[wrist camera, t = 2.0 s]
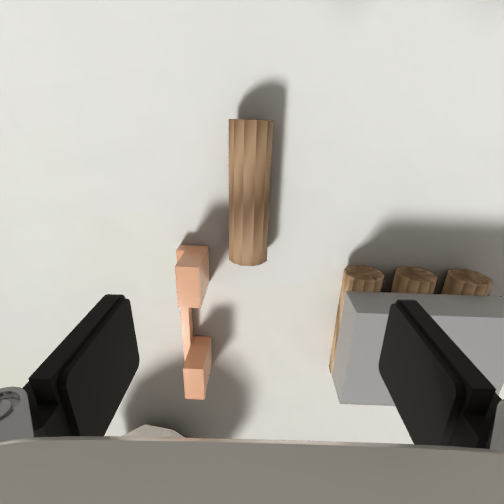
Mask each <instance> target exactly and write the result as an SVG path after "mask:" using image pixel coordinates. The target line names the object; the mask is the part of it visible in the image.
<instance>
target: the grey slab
mask: <svg viewBox="0 0 504 504" xmlns="http://www.w3.org/2000/svg"><path fill="white" fill-rule="evenodd" d="M398 299H399V300H416V301H417V302H418V303H419V304H420V305H421V306H422V307H423V308H424V309H425V311H426V312H427V313H428V314H429V315H430V316H431V317H432V318H433V319H434V321H435V322H436V323H437V324H438V325H439V326H440V327H441V328H442V329H443V330H444V332H445V333H446V334H447V335H448V336H449V337H450V338H451V339H452V340H453V342H454V343H455V344H456V345H457V346H458V347H459V348H460V349H461V350H462V352H463V353H464V354H465V355H466V356H467V357H468V358H469V359H470V360H471V361H472V363H473V364H474V365H475V366H476V367H477V368H478V369H479V370H480V371H481V373H482V374H483V375H484V376H485V377H486V378H487V379H488V380H489V381H490V383H491V384H492V385H493V386H494V387H495V388H496V391H495V392H496V394H497V395H499V392H500V390H501V388H502V386H503V383H504V298H502V297H501V296H476V295H447V294H417V293H388V292H358V291H346V292H345V298H344V304H343V310H342V316H341V322H340V328H339V334H338V340H337V347H336V353H335V359H334V365H333V371H332V378H333V381H334V385H335V388H336V392H337V395H338V399H339V402H340V404H358V405H384V406H395V404H394V402H393V400H392V398H391V396H390V393H389V391H388V389H387V387H386V385H385V383H384V381H383V379H382V377H381V375H380V373H379V367H378V364H379V359H380V354H381V349H382V344H383V339H384V334H385V329H386V325H387V320H388V315H389V310H390V306H391V304H393V303H395V302H396V301H397V300H398Z"/></svg>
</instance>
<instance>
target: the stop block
mask: <svg viewBox="0 0 504 504" xmlns="http://www.w3.org/2000/svg"><path fill="white" fill-rule="evenodd" d="M176 253H177V264H176V266H175V274H176V287H177V300H178V307H180V308H181V321H182V335H183V348H184V362H185V363H184V366H183V377H184V390H185V399H201V400H205V395H206V390H207V386H208V381H209V376H210V371H211V367H212V348H211V337H207V336H193V319H192V308H201V305H202V302H203V299H204V296H205V293H206V290H207V287H208V285H209V249H208V246H202V245H180V246H179V247H178V249H177V250H176Z"/></svg>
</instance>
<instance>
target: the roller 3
mask: <svg viewBox="0 0 504 504" xmlns="http://www.w3.org/2000/svg"><path fill="white" fill-rule="evenodd" d="M436 282H437V276H436V275H435V274H433V273H432V272H430V271H428V270H425V269H423V268H418V267H397V269H396V271H395V276H394V280H393V284H392V289H391V293H417V294H433V292H434V289H435V285H436Z"/></svg>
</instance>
